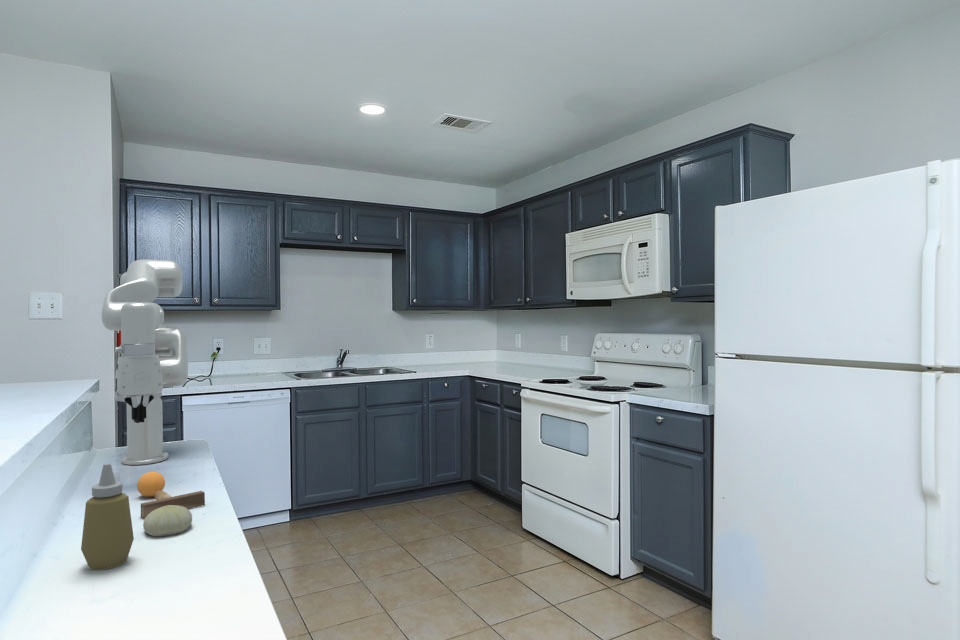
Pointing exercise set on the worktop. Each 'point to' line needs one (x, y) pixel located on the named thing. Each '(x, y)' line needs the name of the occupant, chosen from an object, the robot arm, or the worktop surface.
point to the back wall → (174, 502)
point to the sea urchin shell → (167, 520)
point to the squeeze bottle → (107, 524)
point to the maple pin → (161, 495)
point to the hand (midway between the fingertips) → (139, 421)
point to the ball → (150, 484)
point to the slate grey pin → (116, 475)
